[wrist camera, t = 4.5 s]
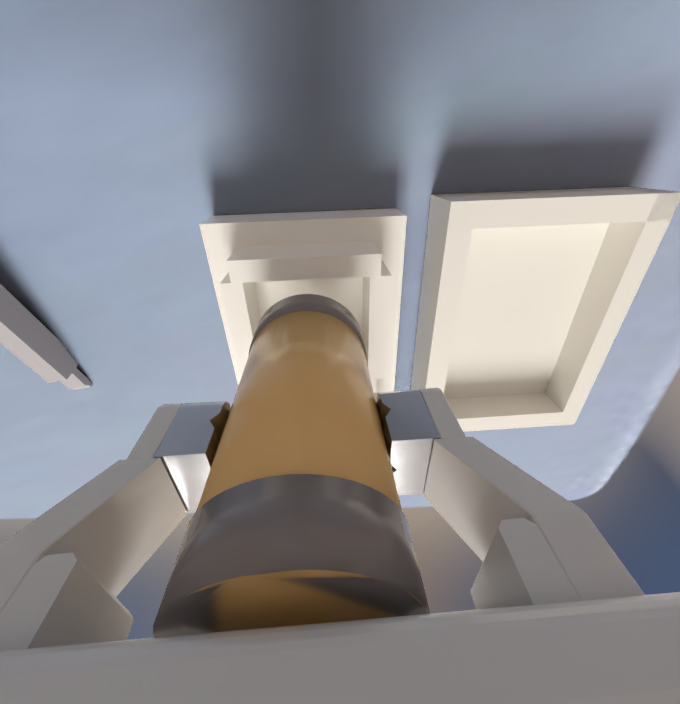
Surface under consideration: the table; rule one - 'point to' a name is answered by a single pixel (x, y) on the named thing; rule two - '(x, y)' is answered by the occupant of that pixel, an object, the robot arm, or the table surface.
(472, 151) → the table surface
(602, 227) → the parts tray
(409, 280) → the table surface
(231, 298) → the block
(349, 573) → the fuse
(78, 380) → the caliper
